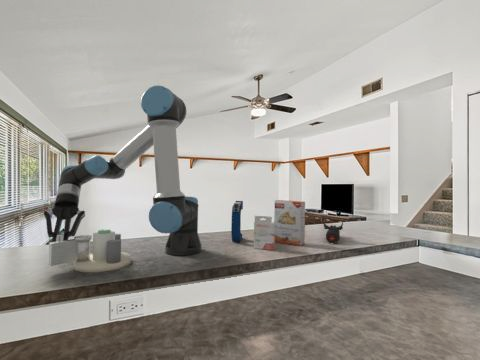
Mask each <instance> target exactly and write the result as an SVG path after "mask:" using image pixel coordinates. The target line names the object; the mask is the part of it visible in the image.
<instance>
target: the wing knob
mask: <svg viewBox="0 0 480 360" xmlns="http://www.w3.org/2000/svg"><path fill="white" fill-rule="evenodd" d="M91 240H93V235H89V234H82V235H75V236H73V238H72V239H68V240H64V241H58V242H52V241H51V242H49V243H48V266H50V267H54V266H58V265H62V264H67V263H71V262H74V261H76V262H83V261H88V260H90V254H91Z"/></svg>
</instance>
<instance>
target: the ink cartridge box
mask: <svg viewBox="0 0 480 360" xmlns="http://www.w3.org/2000/svg"><path fill="white" fill-rule="evenodd" d="M264 219H265V220H264ZM272 219H273V217H272V216H269V215H268V216H266V215H254V221H253V248H254V249H259V250H266V251H267V250H268V251H273V250H274V249H275V242H274V222H273V220H272Z"/></svg>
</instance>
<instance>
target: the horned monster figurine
mask: <svg viewBox="0 0 480 360" xmlns="http://www.w3.org/2000/svg"><path fill="white" fill-rule="evenodd" d="M322 223H323V227H324V230H327V231H326V233H325V239H326V241H327V242H328V244H331V243H333V244H332V245H334V244H337V243H338V242H339V241H340V235H341V231H342V230H343V225H344V222H343V221H342V222H341V225H339V226H337V225H333V224H331V225H330V226H329V225H327V224H326V223H325V220H323V222H322Z"/></svg>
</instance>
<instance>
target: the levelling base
mask: <svg viewBox="0 0 480 360" xmlns="http://www.w3.org/2000/svg"><path fill="white" fill-rule="evenodd" d="M121 237H122V234H120V233H116V231H114V230H111V229H99V230H97V231H95V232H93V233H92V253H90V260H88V261H83V262H76V261H73V269H74V271H77V272H81V273H102V272H111V271H115V270H118V269H122V268H125V267H127V266H129V265H130V264H131V262H132V254H130V253H128V252H123V251H122V240H121V239H122V238H121Z"/></svg>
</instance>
